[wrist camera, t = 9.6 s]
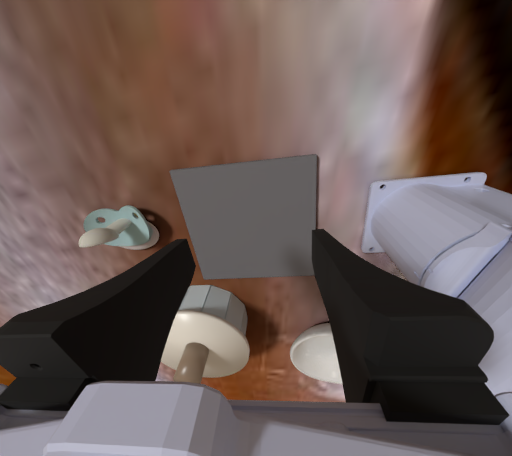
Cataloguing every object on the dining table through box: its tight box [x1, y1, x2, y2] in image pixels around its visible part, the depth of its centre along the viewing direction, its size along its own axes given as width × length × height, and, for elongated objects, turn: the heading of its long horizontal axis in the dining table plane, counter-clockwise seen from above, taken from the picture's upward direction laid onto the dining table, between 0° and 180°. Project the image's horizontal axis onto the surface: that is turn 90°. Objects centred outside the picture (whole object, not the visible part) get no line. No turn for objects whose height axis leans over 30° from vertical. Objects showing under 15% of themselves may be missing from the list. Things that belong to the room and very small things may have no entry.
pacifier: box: [79, 205, 159, 250], centre depth 22 cm, size 7×6×6 cm
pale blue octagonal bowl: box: [179, 285, 248, 336], centre depth 29 cm, size 11×11×5 cm
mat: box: [170, 154, 317, 279], centre depth 23 cm, size 14×14×1 cm
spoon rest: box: [290, 323, 343, 384], centre depth 28 cm, size 24×12×7 cm, turn 101°
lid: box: [161, 310, 250, 384], centre depth 25 cm, size 13×13×4 cm
